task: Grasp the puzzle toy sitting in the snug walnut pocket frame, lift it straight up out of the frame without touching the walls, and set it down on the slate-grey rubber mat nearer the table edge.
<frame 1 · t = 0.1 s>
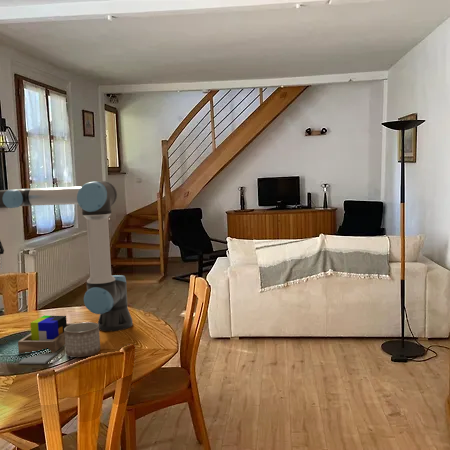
puzzle toy: (50, 343, 205), resting in pocket frame
planter: (83, 354, 191), on the table
mat: (38, 359, 186), on the table
pocket frame: (50, 342, 205), on the table
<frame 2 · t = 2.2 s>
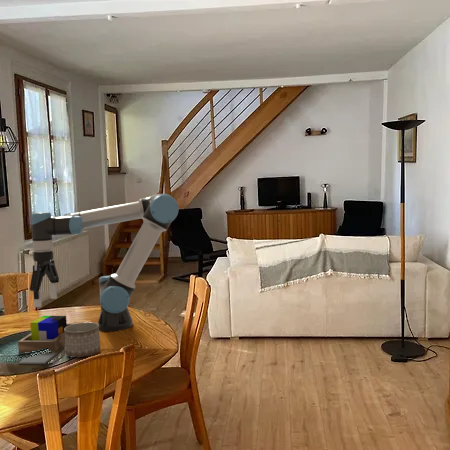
hand: (46, 302, 203), 17 cm above the table, fingers open, 13 cm apart
nothing on the table moved.
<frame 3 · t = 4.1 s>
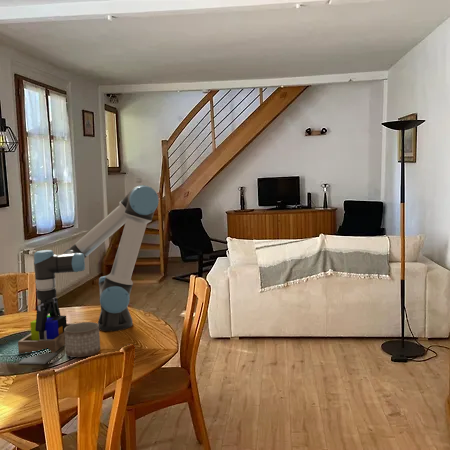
hand: (50, 341, 205), 0 cm above the table, fingers closed on puzzle toy, 10 cm apart
puzzle toy: (50, 343, 205), resting in pocket frame, touching gripper
everything else where it was.
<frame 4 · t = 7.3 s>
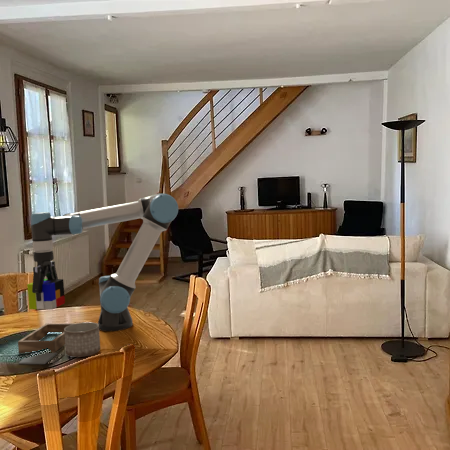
hand: (47, 305, 203), 16 cm above the table, fingers closed on puzzle toy, 10 cm apart
puzzle toy: (47, 306, 203), point 15 cm above the table, touching gripper
everything else where it was.
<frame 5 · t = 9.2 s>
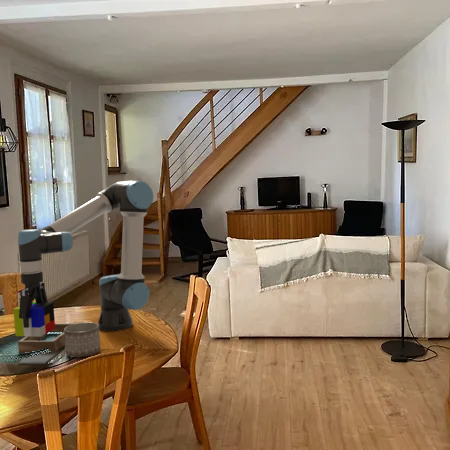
hand: (35, 331, 185), 11 cm above the table, fingers closed on puzzle toy, 10 cm apart
puzzle toy: (35, 332, 185), point 10 cm above the table, touching gripper
everything else where it was.
when the fingers open (3 cm above the table, at t = 10.8 s): puzzle toy drops 2 cm, resting on mat.
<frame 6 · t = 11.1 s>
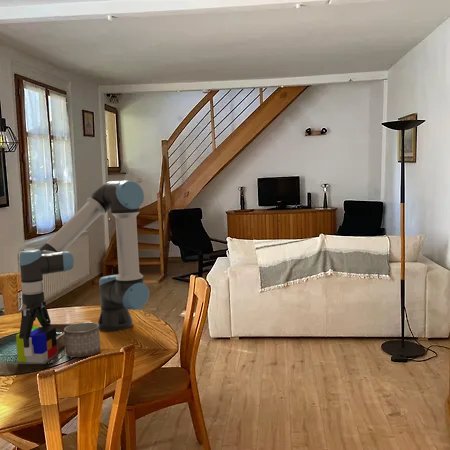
hand: (37, 349, 186), 4 cm above the table, fingers open, 12 cm apart
puzzle toy: (38, 357, 187), resting on mat
everything else where it was.
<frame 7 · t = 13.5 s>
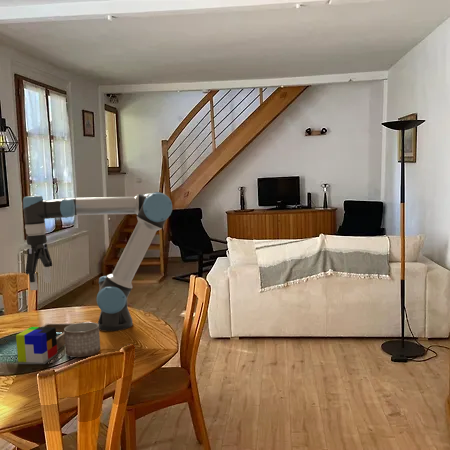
hand: (41, 286, 204), 23 cm above the table, fingers open, 13 cm apart
nothing on the table moved.
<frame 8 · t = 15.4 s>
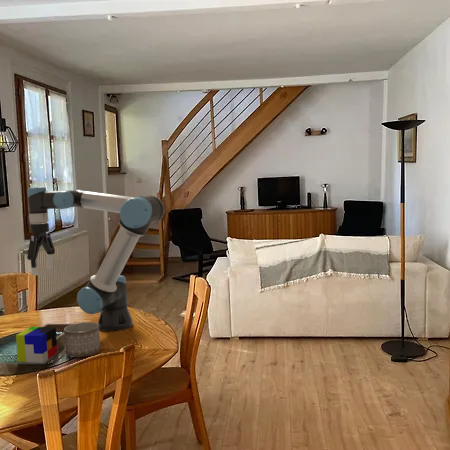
hand: (43, 271, 217), 27 cm above the table, fingers open, 13 cm apart
nothing on the table moved.
at the end: puzzle toy inside the target area on the mat (0.1 cm from its centre), point 0.4 cm above the mat's base; puzzle toy touching mat; the gripper is holding nothing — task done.
